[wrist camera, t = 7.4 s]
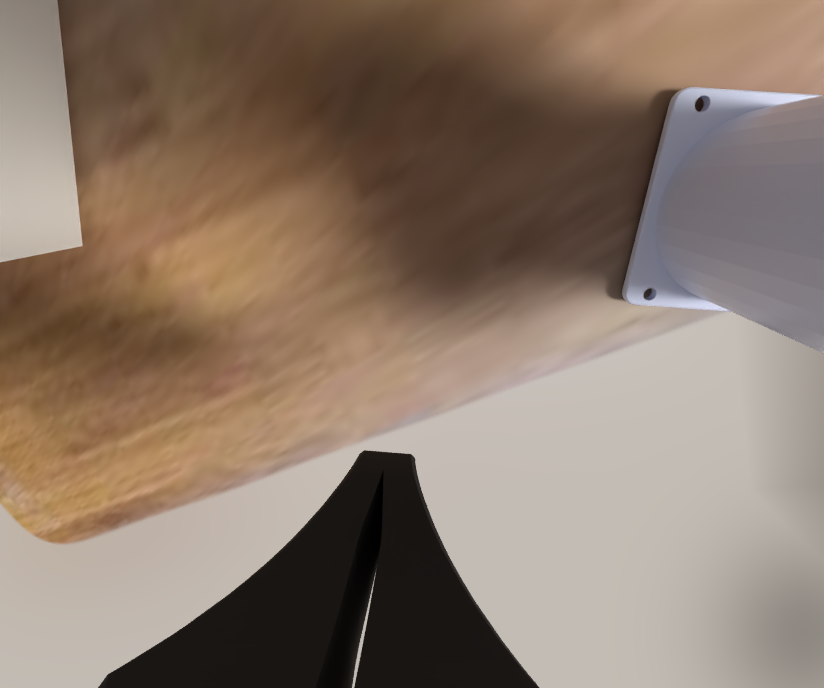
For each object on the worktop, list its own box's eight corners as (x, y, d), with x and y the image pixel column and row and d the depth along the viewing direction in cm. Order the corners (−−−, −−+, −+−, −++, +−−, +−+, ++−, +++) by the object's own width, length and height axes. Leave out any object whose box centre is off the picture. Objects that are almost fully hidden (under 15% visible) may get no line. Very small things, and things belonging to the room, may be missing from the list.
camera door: (82, 246, 18) (-7, 263, 15) (49, 239, 18) (-48, 255, 15) (52, -44, 15) (-77, -119, 11) (12, -53, 15) (-132, -130, 11)
